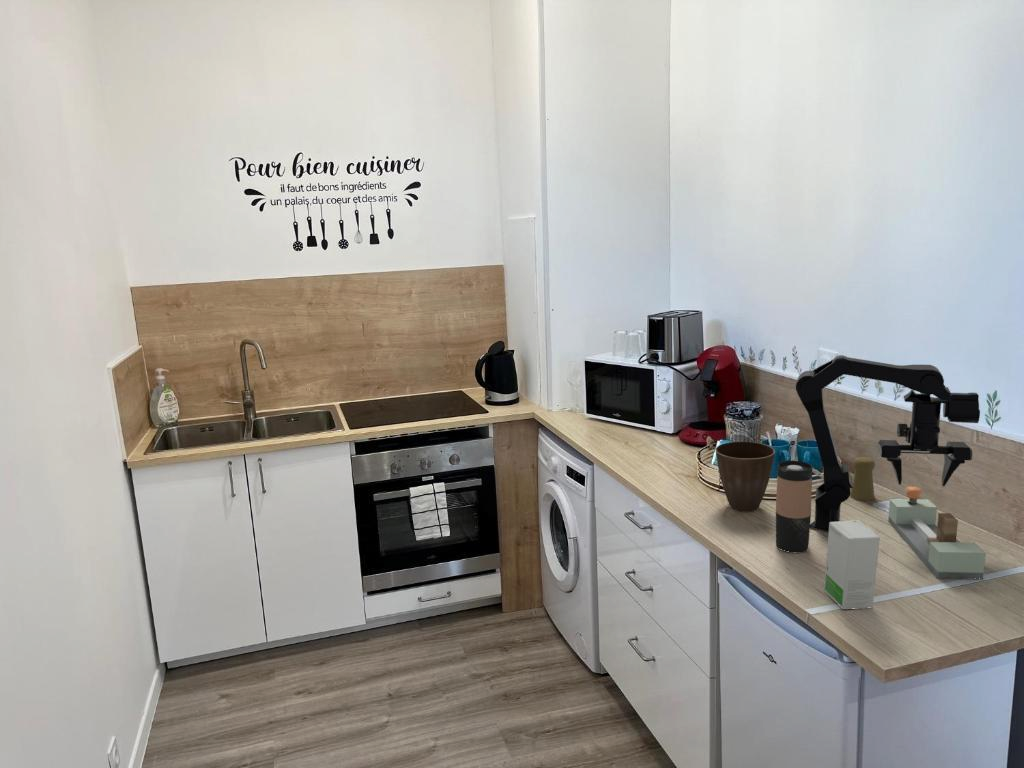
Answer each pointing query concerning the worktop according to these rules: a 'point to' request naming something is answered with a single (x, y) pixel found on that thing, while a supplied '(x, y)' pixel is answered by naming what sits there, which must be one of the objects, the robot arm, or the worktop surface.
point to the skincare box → (851, 564)
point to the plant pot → (744, 473)
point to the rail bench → (939, 556)
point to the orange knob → (913, 494)
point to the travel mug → (793, 505)
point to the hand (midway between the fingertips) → (921, 484)
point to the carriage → (945, 529)
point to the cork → (863, 479)
